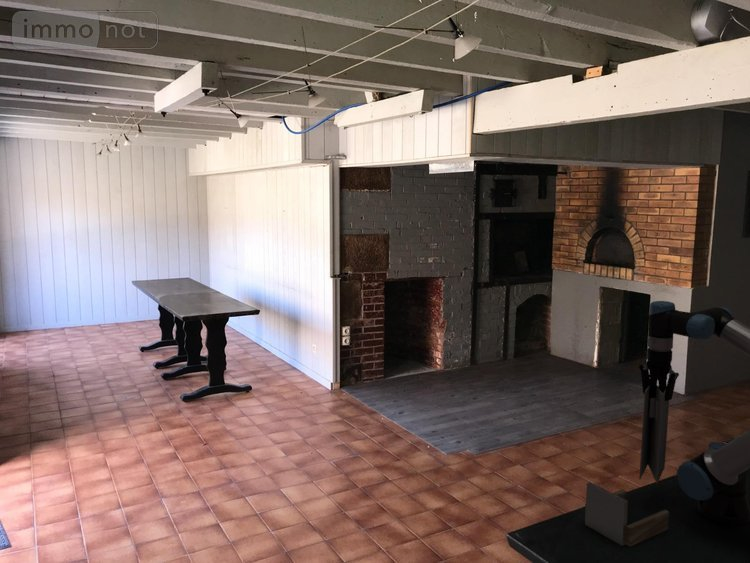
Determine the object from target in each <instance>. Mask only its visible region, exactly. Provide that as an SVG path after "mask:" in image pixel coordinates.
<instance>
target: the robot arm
mask: <svg viewBox="0 0 750 563" xmlns="http://www.w3.org/2000/svg"><path fill="white" fill-rule="evenodd" d="M647 315H648V328H647V329H648V330H647V331H648V333H647V343H646V344H647V347H648V348H647V349H646V359H647V361H646V362H645V363H643V364H642V363H641V364H639V366H638V368H639V370H640V374H641V386H642V394H643V395H645V390H646V389H647V388H648V386H650V387H649V407H650V416H649V417H650V418H653V417H655V408H656V420H657V407H658V401H659V400H656V397H654V396H656V386H658V388H659V389H660V391H661V392H662V394H663V393H664V391H665V389H666V391H665V401H668V400H669V401H671V400H672V399H673V396H674V395H673V394H674V391H675V387H676V382H677V379H678V378H679V377H680V373H679V372H675V371H674V370H673V367H672V361H673V350H672V349H673V348H674V335H677V336H684V337H686V338H691V339H694V340H695V339H696V340H709V339H710V338H711V337H712V336H713V335H715V336H716V337H718V338H720V340H723V341H724V342H726V343H728V344H729V345H730V346H732V347H733V348H735V349H737V350H739V352H742V353H743V354H745V355H746V356H748V357H749V358H750V327H749V326H748V325H746V324H745V323H743V322H741V321H739V320H737V319H736V318H735V317H734V314H733V312H731V310H730V309H729V308H728V307H724V306H714V307H710V308H707V309H701V310H698V311H697V310H696V311H693V312H691V311H689V312H688V311H681V310H677V309H676V305H675V303H674V302H671V301H667V300H666V301H665V300H655V301H651V303H650V304H649V309H648V314H647ZM749 470H750V428H749V429H747V430H746V431H745V432H742V434H741V433H740V435H738V436H736V437H735V438H733V439H732V440H730V441H729V442H722V441H721V442H720V441H712V442H710V443H709V444H708V445H707V449H706V450H705V451H703V452H701V453H699V454H698V455H697V456H695V457H693V458H692V459H690V460H687V461H684V462H683V463H682V464H680V465H679V466H678V467H677V470H676V476H677V477H676V480H677V482H678V485H679V486H680V488H681V490H682V491H683V492H684V493H685V494H686V495H687V496H688V497H689V498H691V499H694V500H696V501H698V502H697V510H698V511H699V513H700V514H701V515H702V516H704V517H705V518H707V519H709V520H711V521H713V522H716V523H719V524H722V525H723V524H724V525H728V526H729V525H730V526H744V525H747V524H749V523H750V504H749V500H748V497H747V491H748V490H747V489H748V481H749V480H748V479H749Z"/></svg>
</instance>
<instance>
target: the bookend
mask: <svg viewBox="0 0 750 563" xmlns="http://www.w3.org/2000/svg"><path fill="white" fill-rule="evenodd" d="M585 491H586V492H585V493H586V495H585V496H586V497H585V504H586V516H585V515H584V525H585V526H587V527H589V528H590V529H592V530H593V531H595V532H597V533H599V534H601V535H603V536H604V537H606V538H608V539H609V540H611V541H613V542H615V543H616V544H617V545H620V546H621V547H623V546H627V545H626V528H627V526H628V525H627V523H628V508H629V507H628V506H629V501H628V500H627V499H626V500H625V499H623V498H621V497H619V496H617V495H615V494H613V493H614V492H613V493H612V492H611V491H609V490H606V489H604V488H602V487H600V486H599V485H596V483H594V482H593V483H592V482H590V481H589V482H586V490H585Z"/></svg>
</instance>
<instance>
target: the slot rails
mask: <svg viewBox="0 0 750 563" xmlns="http://www.w3.org/2000/svg"><path fill="white" fill-rule="evenodd" d="M613 494H615V495H617V496H619V497H621V498H623V499H625V500H627V490H625V489H623V488H622V489H620V490H617V491H615V492H613ZM584 506H585V507H584V508H585V509H584V517H585V516H586V503H585V505H584ZM669 516H670V512H669V511H668V510H667V509H663V510H661V511H658V512H656V513H654V514H651V515H649V516H647V517H644V518H642V519H640V520H637V521H635V522H632V523H630V524H628V525H627V528H626V545H625V546H626V547H627V546H628V547H629V548H631V547H633V546H635V545H638V544H640V543H641V542H644V541H646V540H649V539H650V538H652V537H653V538H654V537H655V536H657V535H659V534H662V533H664V532H666V531H668V529H669V518H670V517H669Z"/></svg>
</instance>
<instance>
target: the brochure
mask: <svg viewBox="0 0 750 563" xmlns="http://www.w3.org/2000/svg"><path fill="white" fill-rule="evenodd" d="M649 387H650V386H648V388H647V389H646V390H645V394H643V395H644V397H643V399H644V400H643V411H642V412H643V413H642V428H641V432H642V433H641V443H640V444H641V447H640V463H639V477H638V478H639V480H641V479H642V477H643V475H644V473H645V471H646V469H647V467H648V468H649V470H650V472H651V474H652V477H653V479H654V481H655V484H658V483H659V482H660V479H661V476H662V474H663V472H664V470H665V465H666V456H667V455H666V454H667V452H666V451H667V439H668V438H667V437H668V435H667V434H668V423H669V407H670V400H668V401H665V391H666V389H665V391H664V393H663V394H662V392H661V391H660V389H659V385H657V386H656V396H654V397H656V400H659V401H658V407H657V420H656V408H655V417H653V418H650V417H649V416H650V407H649Z"/></svg>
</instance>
